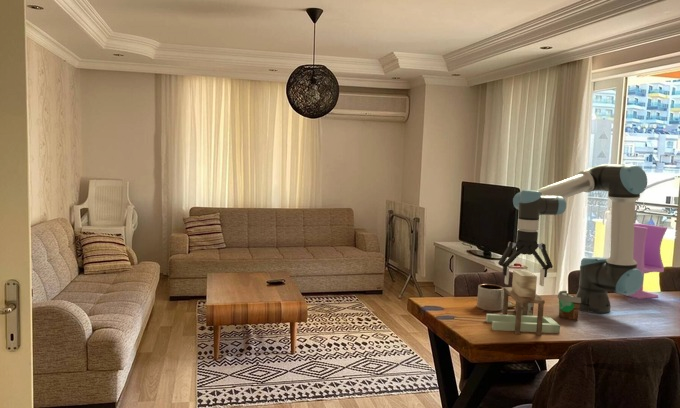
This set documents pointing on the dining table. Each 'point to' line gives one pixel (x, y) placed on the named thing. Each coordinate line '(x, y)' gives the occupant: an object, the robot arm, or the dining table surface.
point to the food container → (568, 306)
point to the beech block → (524, 283)
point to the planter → (490, 297)
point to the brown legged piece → (525, 302)
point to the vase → (647, 253)
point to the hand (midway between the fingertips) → (523, 284)
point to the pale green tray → (522, 323)
